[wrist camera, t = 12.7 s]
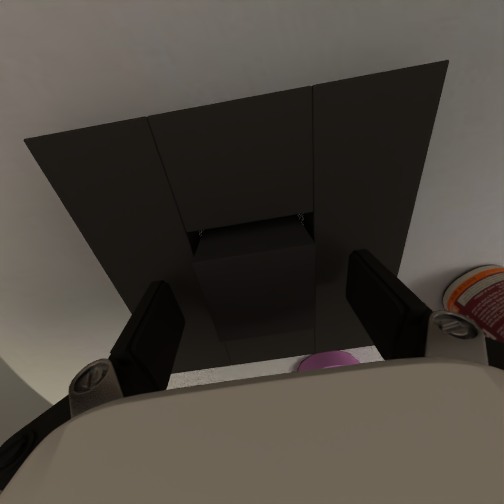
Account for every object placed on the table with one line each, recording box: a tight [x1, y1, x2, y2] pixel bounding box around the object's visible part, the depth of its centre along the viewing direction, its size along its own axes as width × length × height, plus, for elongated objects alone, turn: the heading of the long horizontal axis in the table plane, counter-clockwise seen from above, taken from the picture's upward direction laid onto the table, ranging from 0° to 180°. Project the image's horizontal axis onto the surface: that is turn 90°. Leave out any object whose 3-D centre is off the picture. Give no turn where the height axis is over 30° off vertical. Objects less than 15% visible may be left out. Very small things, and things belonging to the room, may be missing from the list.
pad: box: [192, 215, 316, 342], centre depth 12 cm, size 5×5×4 cm
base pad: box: [24, 60, 449, 374], centre depth 13 cm, size 16×16×2 cm
